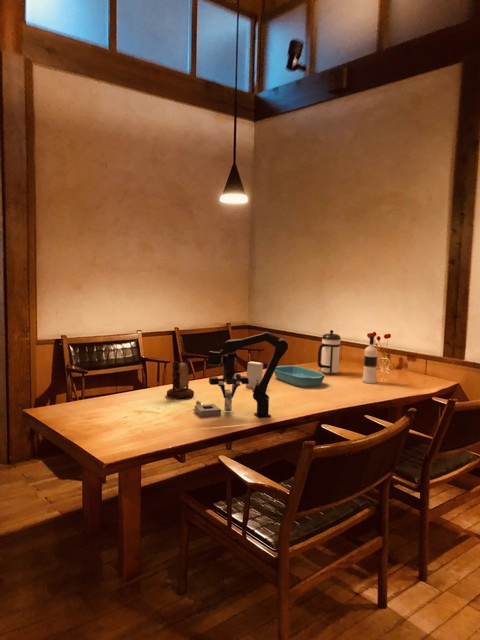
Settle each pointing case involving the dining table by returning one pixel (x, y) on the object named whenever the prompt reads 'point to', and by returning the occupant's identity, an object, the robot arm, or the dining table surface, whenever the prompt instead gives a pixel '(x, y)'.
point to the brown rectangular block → (228, 400)
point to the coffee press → (329, 353)
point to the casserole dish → (299, 376)
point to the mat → (227, 412)
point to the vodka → (370, 363)
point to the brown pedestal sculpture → (178, 385)
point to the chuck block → (207, 410)
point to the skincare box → (254, 373)
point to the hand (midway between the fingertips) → (228, 397)
